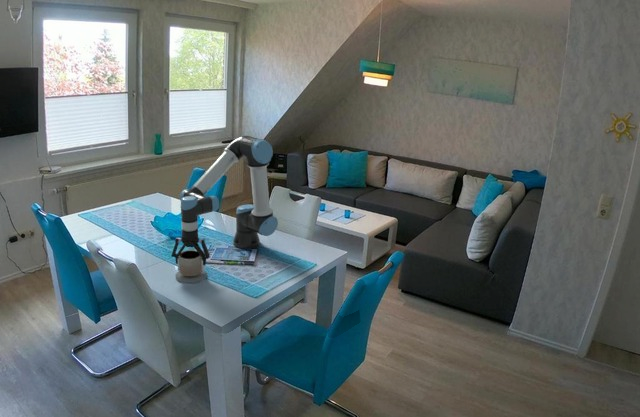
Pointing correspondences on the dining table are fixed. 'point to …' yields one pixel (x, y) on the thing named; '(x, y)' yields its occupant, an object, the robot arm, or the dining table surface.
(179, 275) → the saucer
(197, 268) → the planter
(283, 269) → the dining table surface
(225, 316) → the dining table surface
